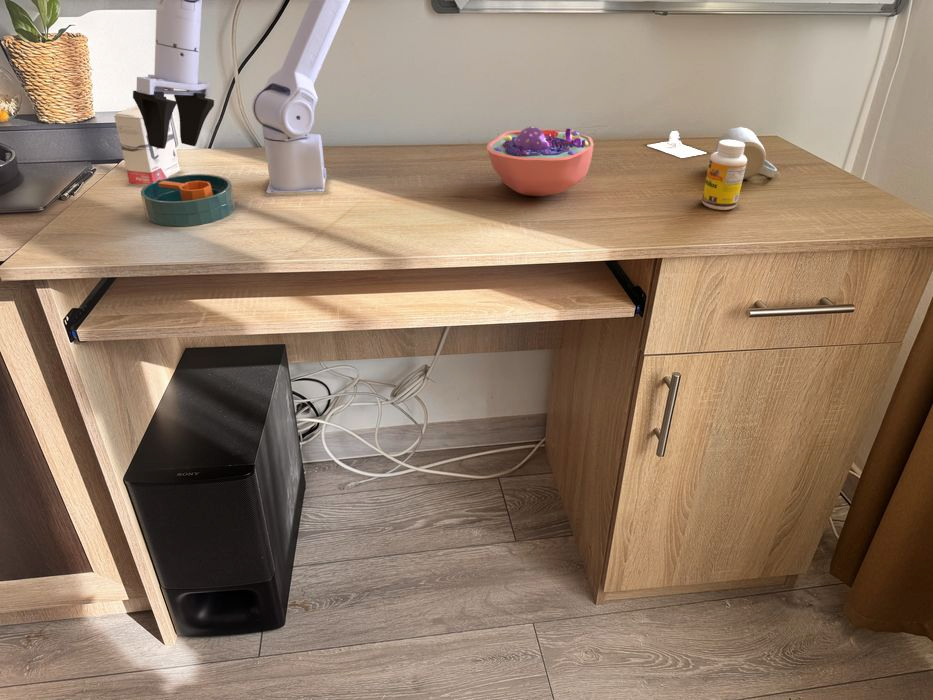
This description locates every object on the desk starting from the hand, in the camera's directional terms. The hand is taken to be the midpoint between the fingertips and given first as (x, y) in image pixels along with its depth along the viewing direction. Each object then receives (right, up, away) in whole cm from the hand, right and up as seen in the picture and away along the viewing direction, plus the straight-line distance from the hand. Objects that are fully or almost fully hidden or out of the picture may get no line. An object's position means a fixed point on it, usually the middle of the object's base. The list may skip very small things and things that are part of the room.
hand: (173, 145), depth 101 cm
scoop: (0, -9, +5) cm, 10 cm away
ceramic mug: (+95, +2, +26) cm, 98 cm away
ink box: (-11, 0, +19) cm, 22 cm away
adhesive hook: (+87, +11, +39) cm, 96 cm away
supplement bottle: (+85, -7, +12) cm, 86 cm away
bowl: (+1, -9, +5) cm, 10 cm away
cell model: (+56, -3, +17) cm, 58 cm away
